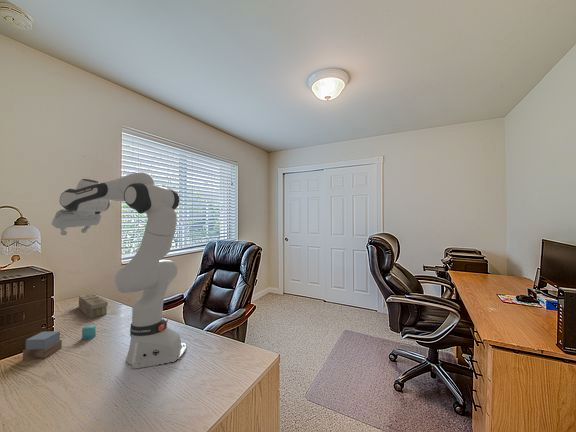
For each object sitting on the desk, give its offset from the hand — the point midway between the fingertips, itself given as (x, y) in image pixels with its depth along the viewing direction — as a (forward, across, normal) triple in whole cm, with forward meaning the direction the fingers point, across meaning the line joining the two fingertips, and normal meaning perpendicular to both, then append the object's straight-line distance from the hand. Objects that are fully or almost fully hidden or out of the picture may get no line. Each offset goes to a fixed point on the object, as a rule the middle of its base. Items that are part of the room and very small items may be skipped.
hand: (73, 233), depth 121 cm
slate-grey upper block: (+35, -22, -30) cm, 51 cm away
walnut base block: (+38, -23, -31) cm, 55 cm away
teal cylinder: (+37, -7, -36) cm, 52 cm away
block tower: (+53, +19, -7) cm, 57 cm away
